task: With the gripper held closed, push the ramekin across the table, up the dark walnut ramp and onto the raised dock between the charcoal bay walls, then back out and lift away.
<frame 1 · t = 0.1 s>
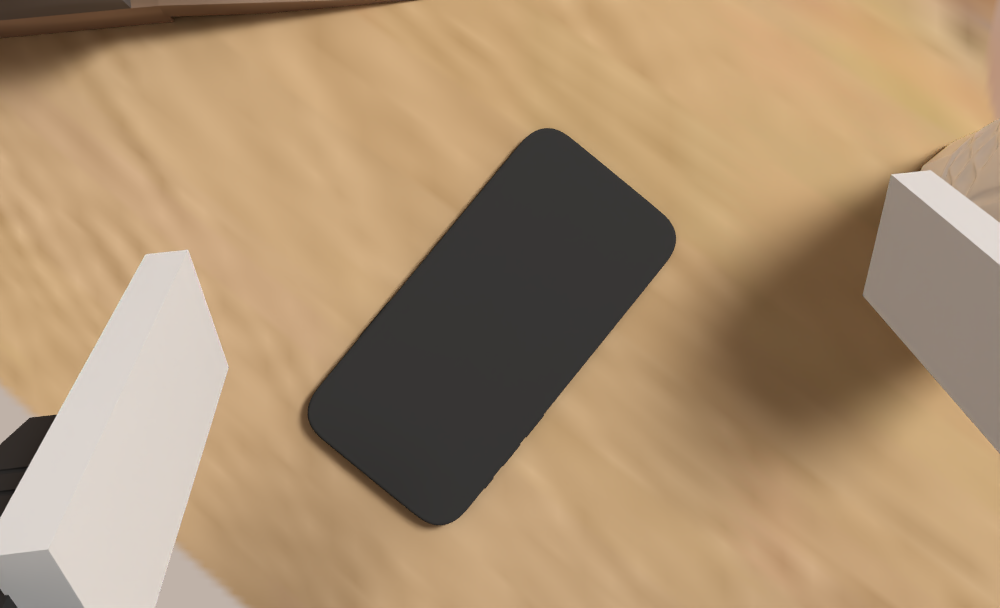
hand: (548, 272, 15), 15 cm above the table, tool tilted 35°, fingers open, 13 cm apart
white cup: (982, 220, 31), on the table
phone: (493, 324, 31), on the table
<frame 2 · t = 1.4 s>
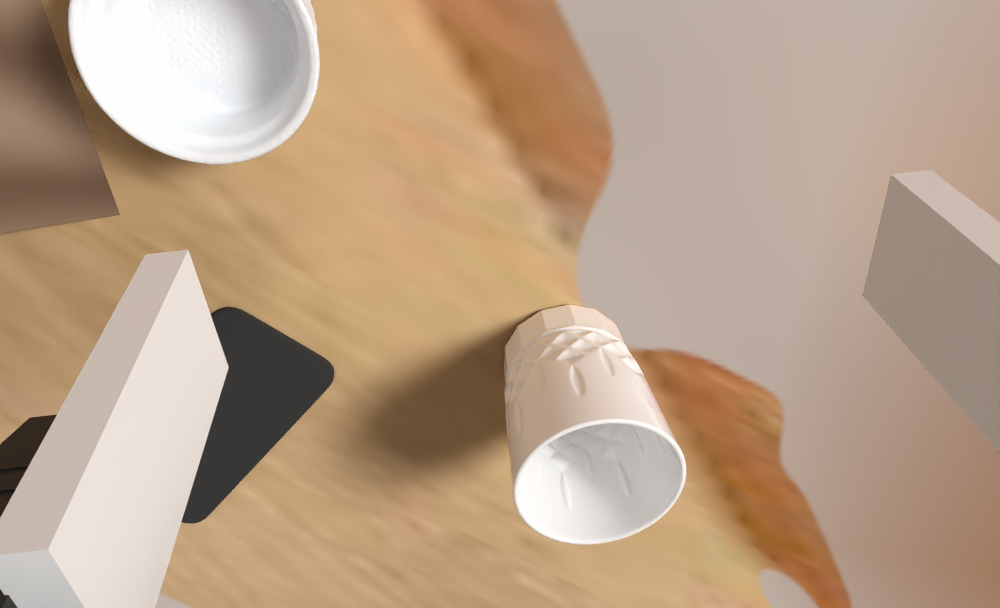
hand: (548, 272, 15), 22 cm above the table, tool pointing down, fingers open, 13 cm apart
white cup: (562, 351, 43), on the table
ramekin: (220, 23, 32), on the table
phone: (211, 415, 44), on the table
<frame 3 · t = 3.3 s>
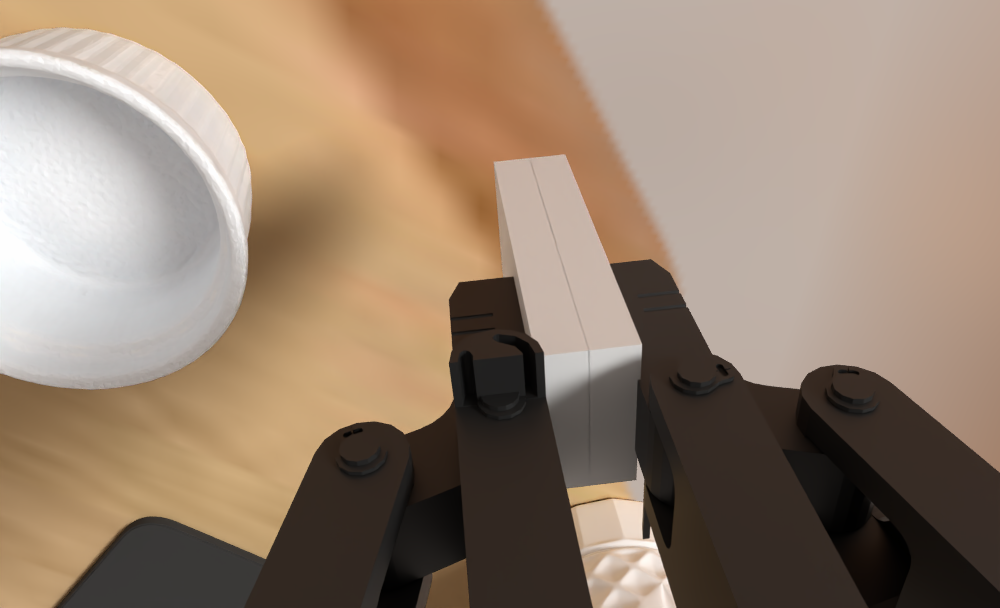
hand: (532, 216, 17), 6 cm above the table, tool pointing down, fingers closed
white cup: (601, 548, 33), on the table
ramekin: (110, 166, 22), on the table
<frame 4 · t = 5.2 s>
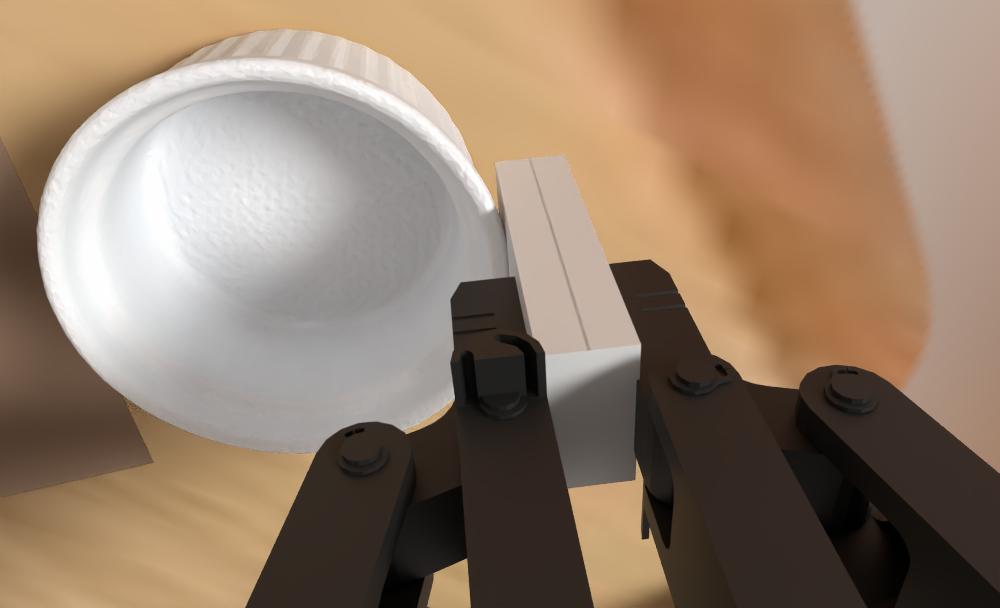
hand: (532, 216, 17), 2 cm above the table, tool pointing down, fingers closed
ramekin: (308, 189, 19), on the table, touching gripper
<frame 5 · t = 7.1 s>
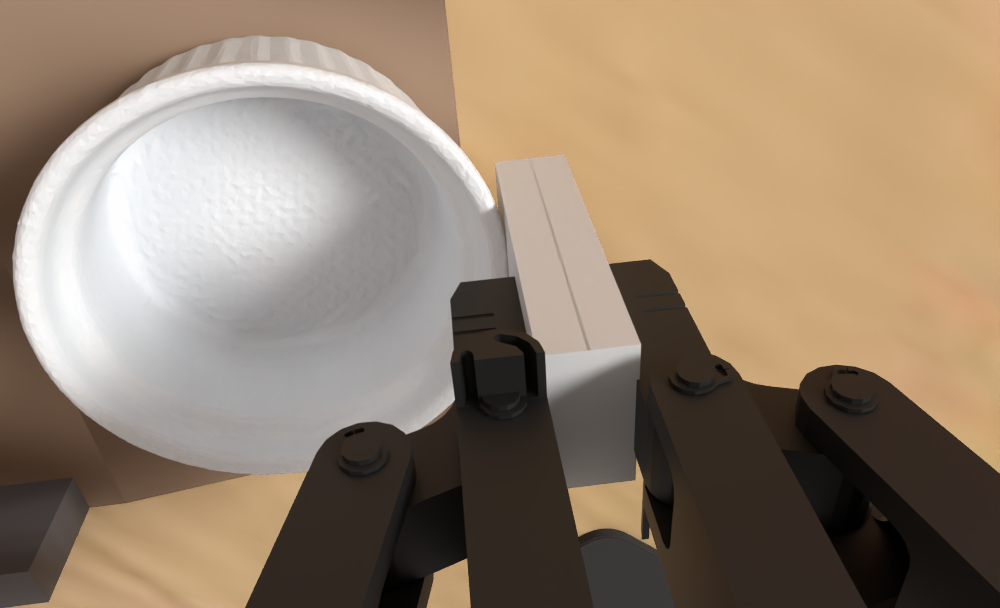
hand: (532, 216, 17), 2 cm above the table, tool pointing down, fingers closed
ramekin: (278, 201, 18), resting on dock, touching gripper
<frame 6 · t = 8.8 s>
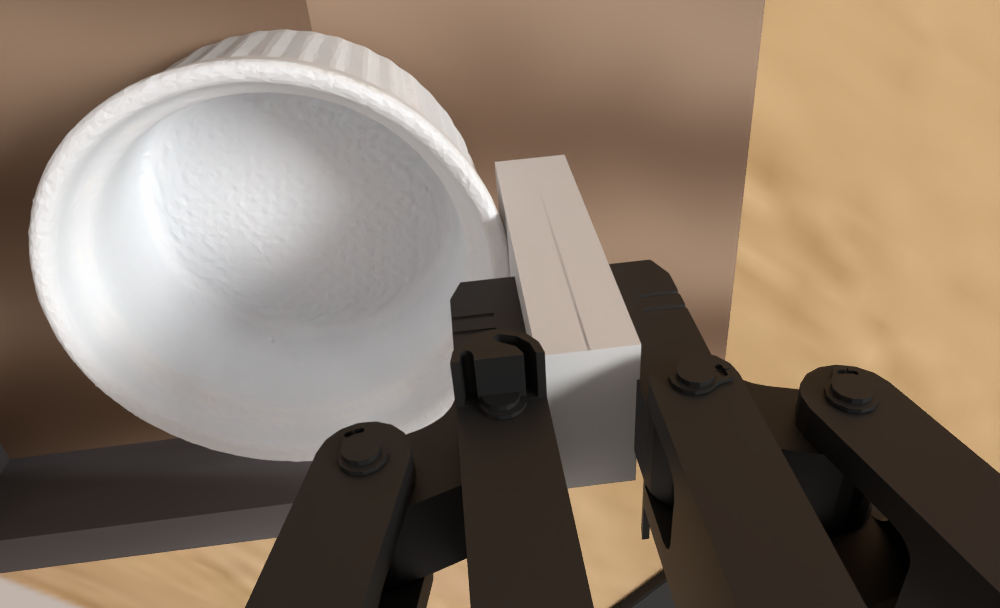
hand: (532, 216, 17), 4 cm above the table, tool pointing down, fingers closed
dock: (311, 176, 20), on the table
ramekin: (307, 192, 18), point 1 cm above the table, touching gripper
phone: (708, 597, 32), on the table
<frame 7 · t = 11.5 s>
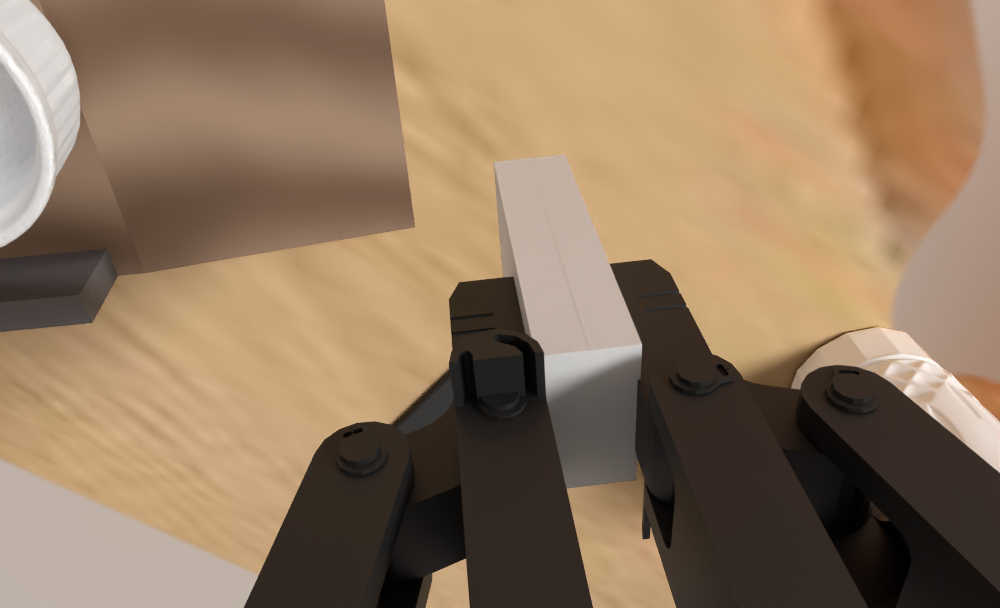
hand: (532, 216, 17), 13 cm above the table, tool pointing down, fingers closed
dock: (50, 53, 26), on the table
white cup: (852, 376, 39), on the table
phone: (457, 441, 39), on the table
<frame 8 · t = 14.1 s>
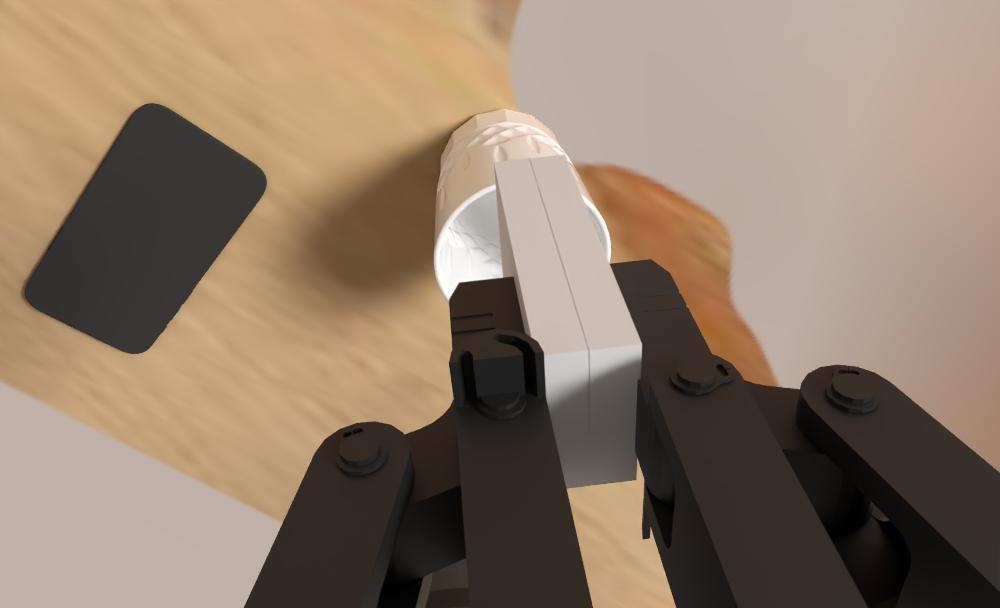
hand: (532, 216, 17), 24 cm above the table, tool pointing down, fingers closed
white cup: (500, 165, 43), on the table
phone: (147, 233, 43), on the table
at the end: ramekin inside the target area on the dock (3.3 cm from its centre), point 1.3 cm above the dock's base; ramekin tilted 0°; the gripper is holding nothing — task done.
